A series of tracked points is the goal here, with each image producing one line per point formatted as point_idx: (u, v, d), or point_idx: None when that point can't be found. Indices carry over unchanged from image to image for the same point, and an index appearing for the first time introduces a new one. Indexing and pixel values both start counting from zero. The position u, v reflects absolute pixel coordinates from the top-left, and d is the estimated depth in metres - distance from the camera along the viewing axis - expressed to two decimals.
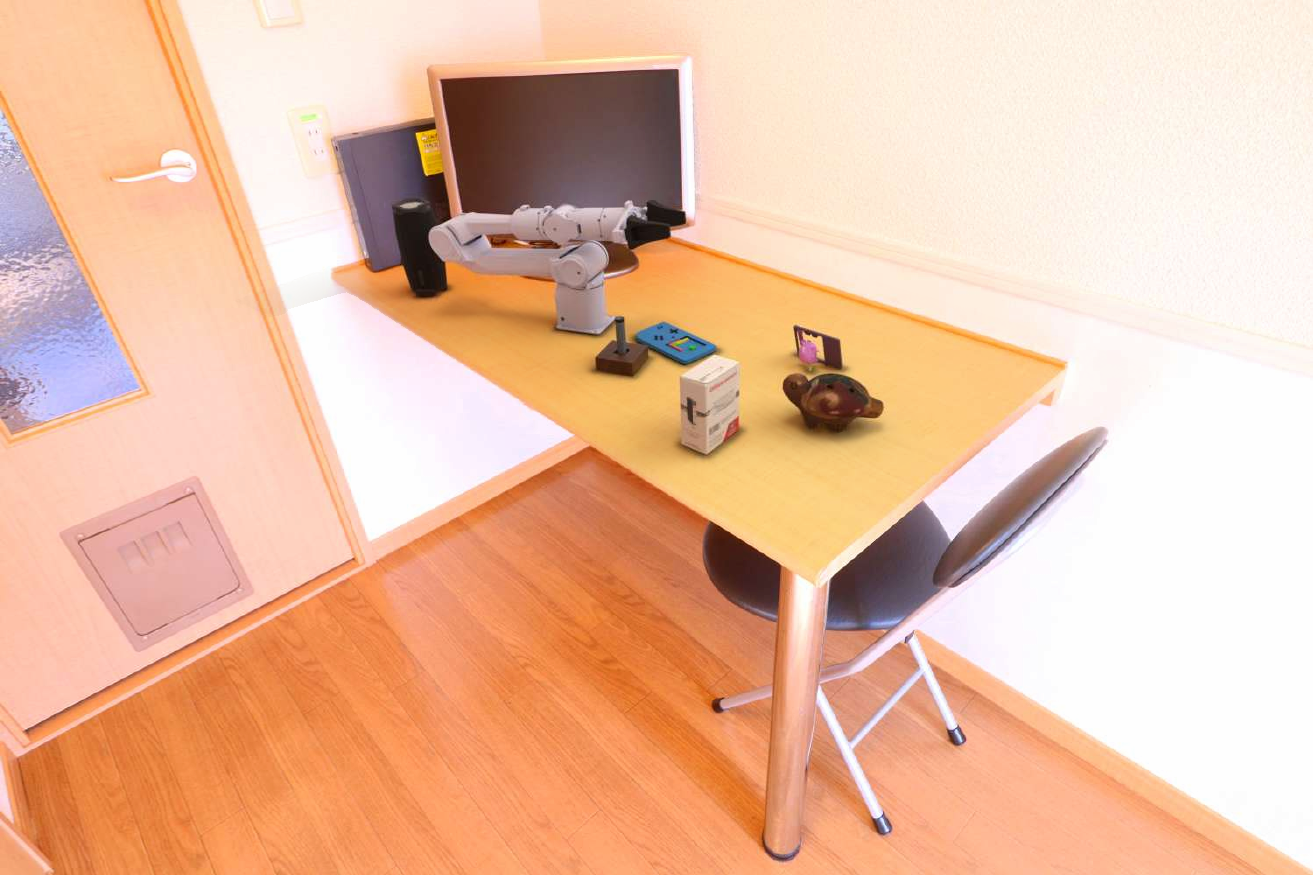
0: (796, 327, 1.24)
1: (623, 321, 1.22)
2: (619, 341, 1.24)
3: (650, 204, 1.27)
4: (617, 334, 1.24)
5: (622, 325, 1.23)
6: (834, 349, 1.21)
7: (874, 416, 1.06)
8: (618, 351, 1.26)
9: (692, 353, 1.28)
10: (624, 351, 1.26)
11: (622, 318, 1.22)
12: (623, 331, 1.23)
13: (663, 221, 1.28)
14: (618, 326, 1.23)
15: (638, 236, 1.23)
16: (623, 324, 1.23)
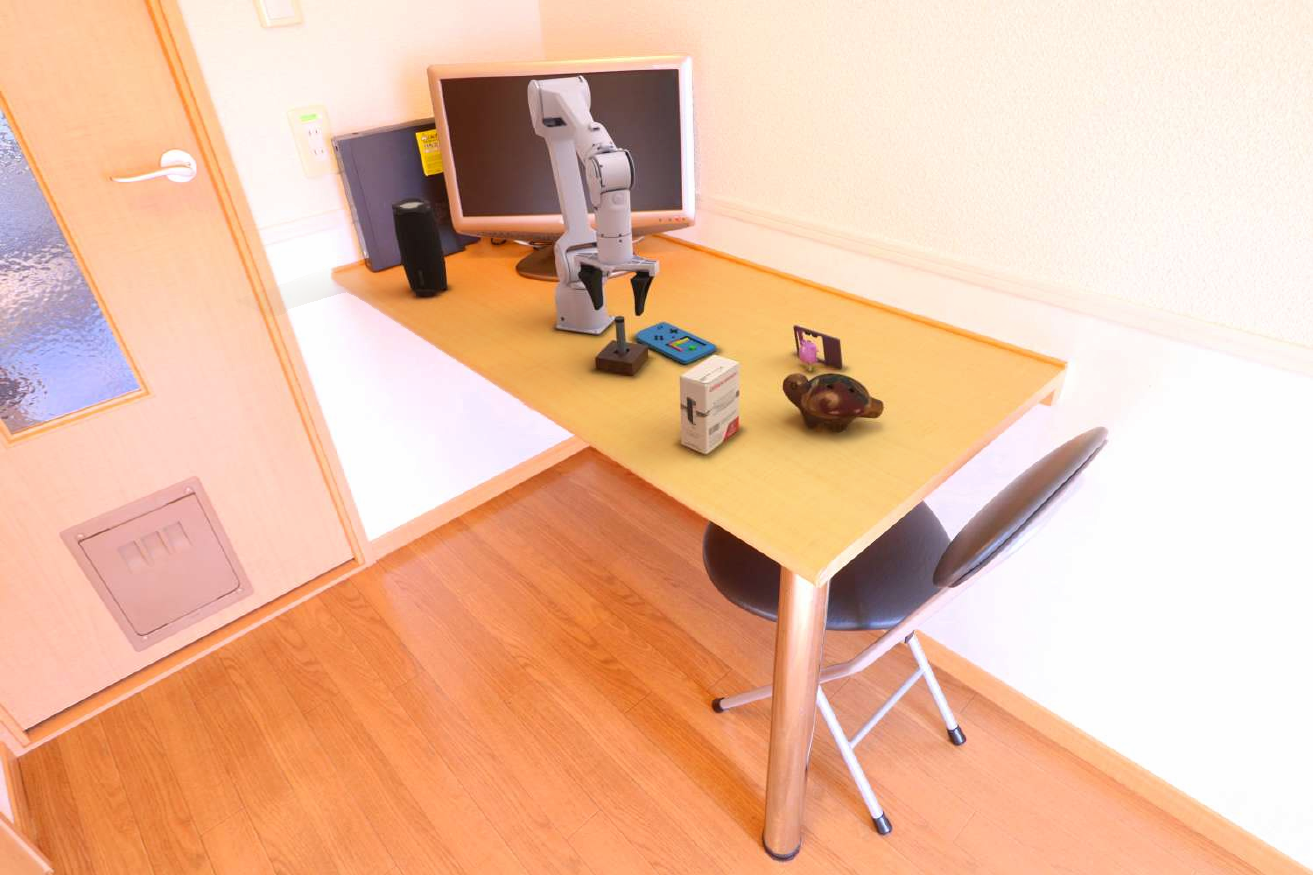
0: (796, 327, 1.24)
1: (623, 321, 1.22)
2: (619, 341, 1.24)
3: (631, 283, 1.15)
4: (617, 334, 1.24)
5: (622, 325, 1.23)
6: (834, 349, 1.21)
7: (874, 416, 1.06)
8: (618, 351, 1.26)
9: (692, 353, 1.28)
10: (624, 351, 1.26)
11: (622, 318, 1.22)
12: (623, 331, 1.23)
13: None
14: (618, 326, 1.23)
15: None
16: (623, 324, 1.23)
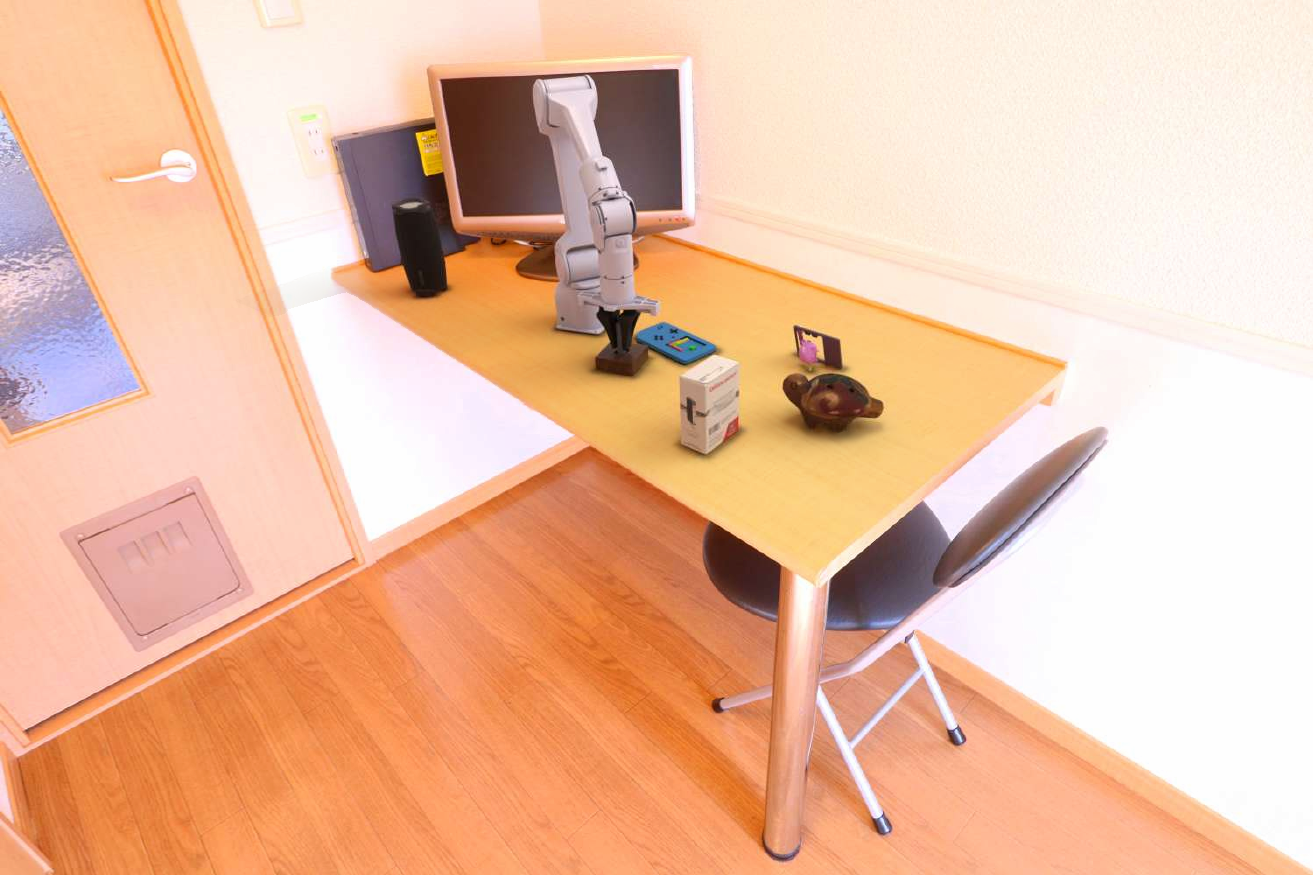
0: (796, 327, 1.24)
1: None
2: (619, 341, 1.24)
3: None
4: (617, 334, 1.24)
5: None
6: (834, 349, 1.21)
7: (874, 416, 1.06)
8: (618, 351, 1.26)
9: (692, 353, 1.28)
10: (624, 351, 1.26)
11: None
12: None
13: None
14: (618, 326, 1.23)
15: None
16: None
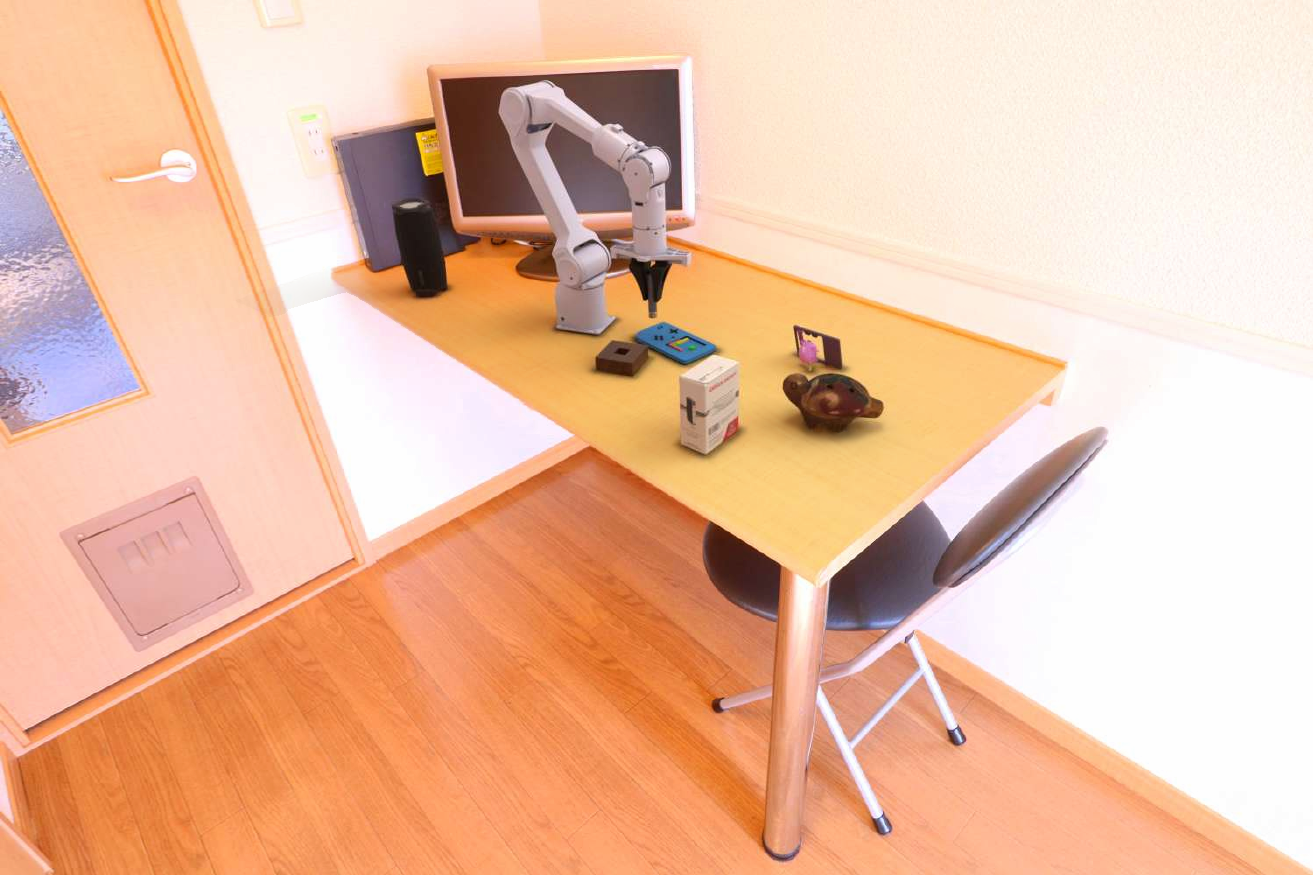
0: (796, 327, 1.24)
1: None
2: (650, 293, 1.28)
3: (650, 271, 1.24)
4: (648, 286, 1.28)
5: None
6: (834, 349, 1.21)
7: (874, 416, 1.06)
8: (649, 303, 1.30)
9: (692, 353, 1.28)
10: (655, 303, 1.30)
11: None
12: None
13: None
14: (650, 278, 1.27)
15: None
16: None
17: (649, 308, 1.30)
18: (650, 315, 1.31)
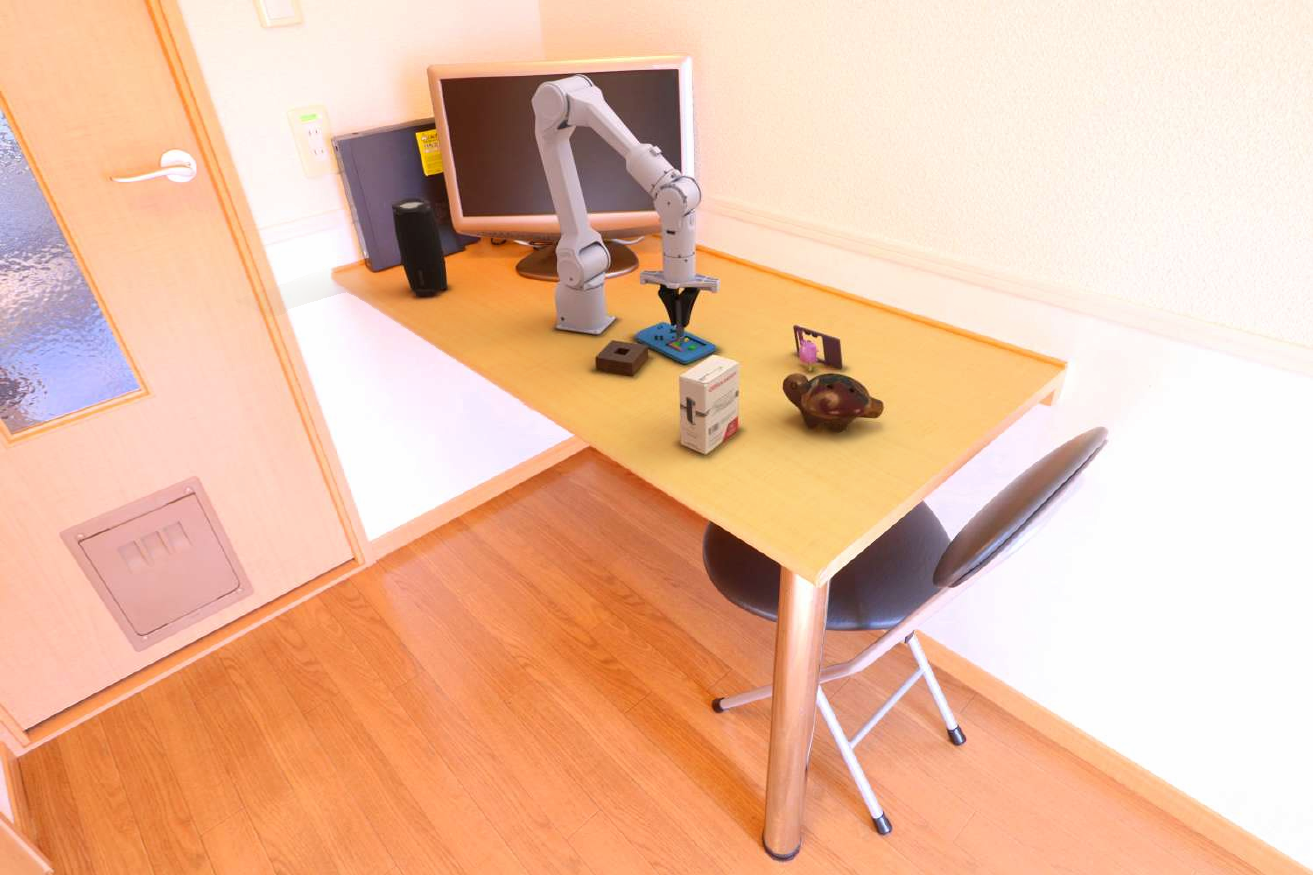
0: (796, 327, 1.24)
1: None
2: (678, 318, 1.29)
3: (680, 297, 1.25)
4: (677, 312, 1.28)
5: None
6: (834, 349, 1.21)
7: (874, 416, 1.06)
8: (677, 328, 1.30)
9: (692, 353, 1.28)
10: (683, 328, 1.30)
11: None
12: None
13: None
14: (678, 304, 1.27)
15: None
16: None
17: (677, 333, 1.31)
18: (678, 340, 1.31)
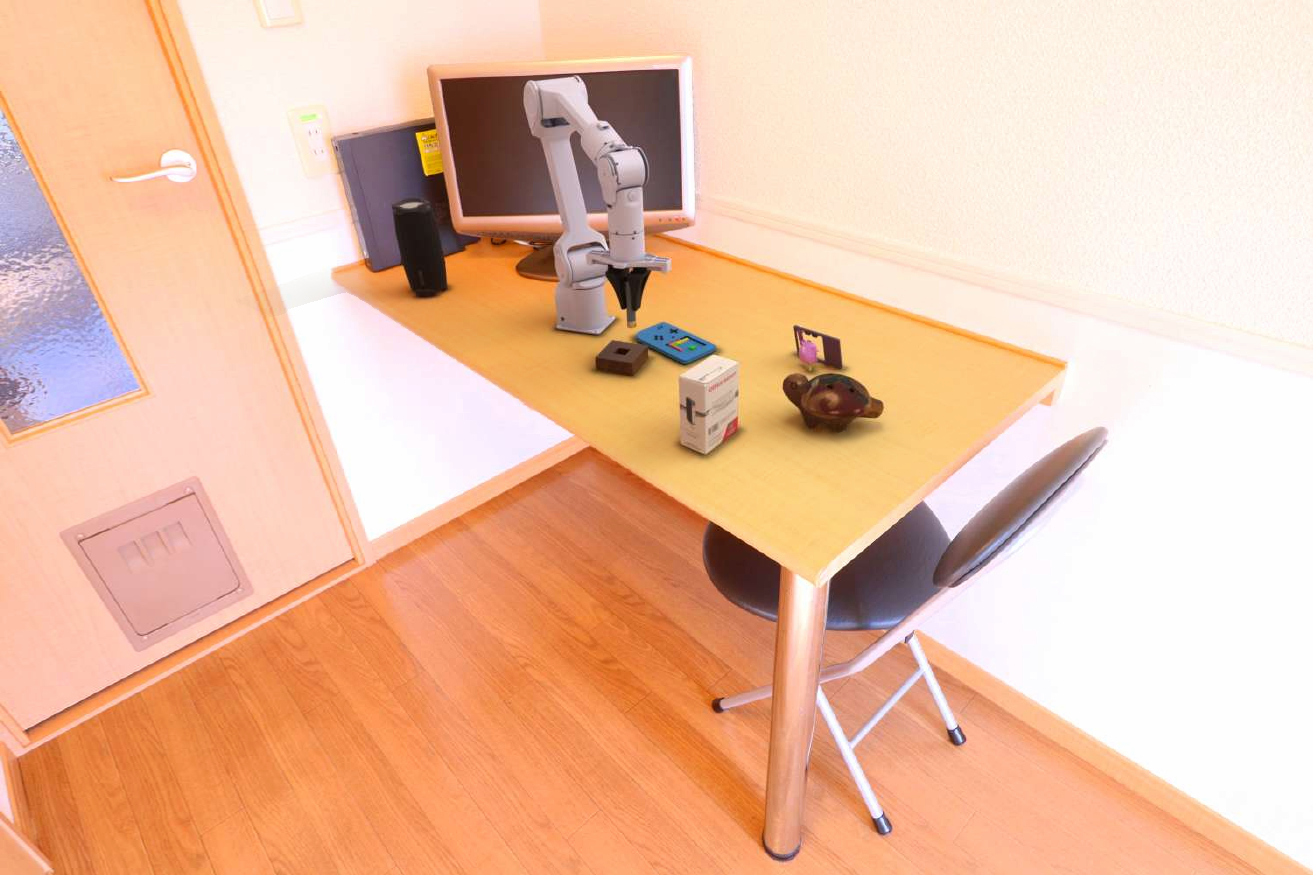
0: (796, 327, 1.24)
1: None
2: (628, 302, 1.21)
3: (628, 278, 1.17)
4: (626, 294, 1.20)
5: None
6: (834, 349, 1.21)
7: (874, 416, 1.06)
8: (627, 312, 1.22)
9: (692, 353, 1.28)
10: (633, 312, 1.22)
11: None
12: None
13: None
14: (627, 286, 1.20)
15: None
16: None
17: (627, 317, 1.23)
18: (629, 324, 1.23)
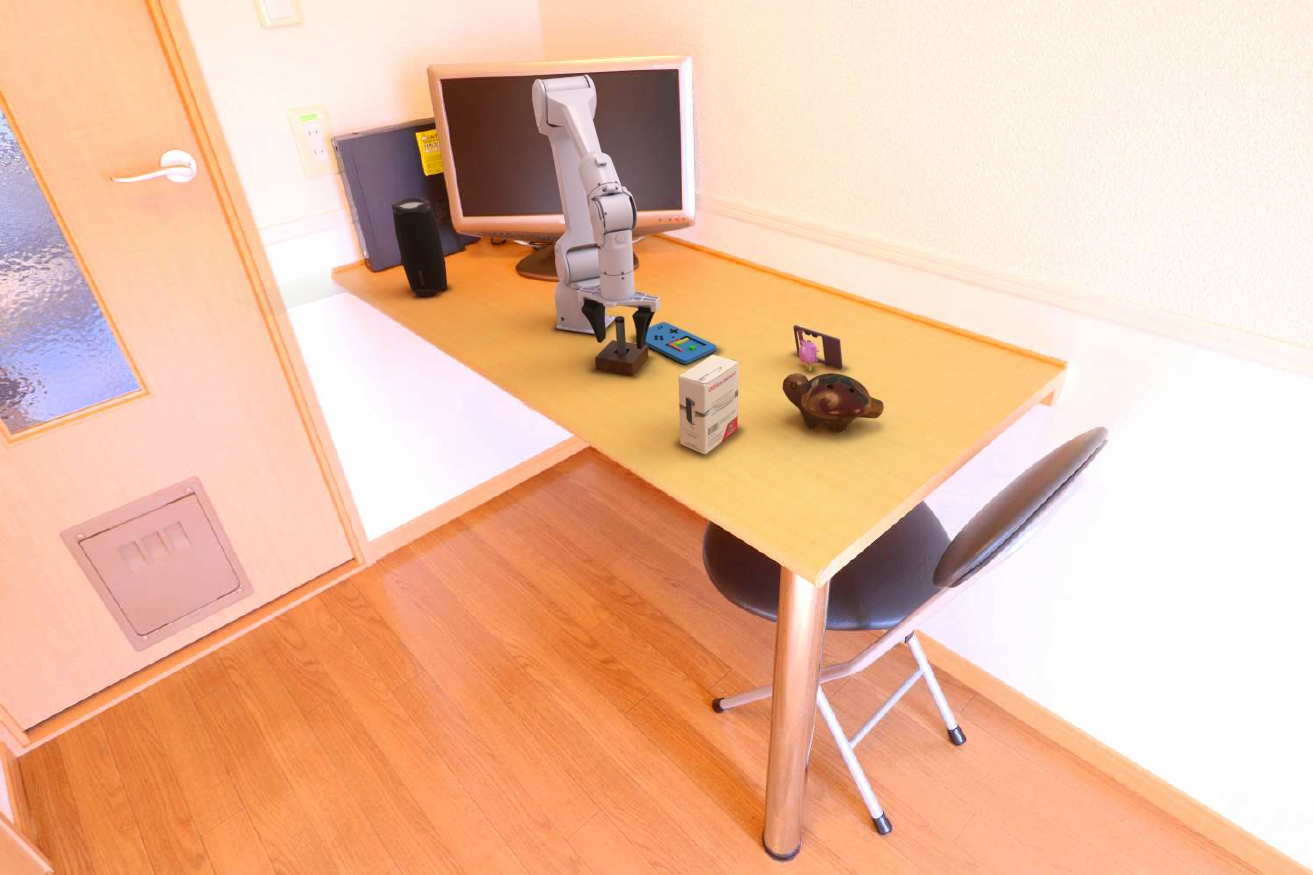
0: (796, 327, 1.24)
1: (623, 321, 1.22)
2: (619, 341, 1.24)
3: (633, 318, 1.19)
4: (617, 334, 1.24)
5: (622, 325, 1.23)
6: (834, 349, 1.21)
7: (874, 416, 1.06)
8: (618, 351, 1.26)
9: (692, 353, 1.28)
10: (624, 351, 1.25)
11: (622, 318, 1.22)
12: (623, 331, 1.23)
13: None
14: (618, 326, 1.23)
15: None
16: (623, 324, 1.23)
17: None
18: None
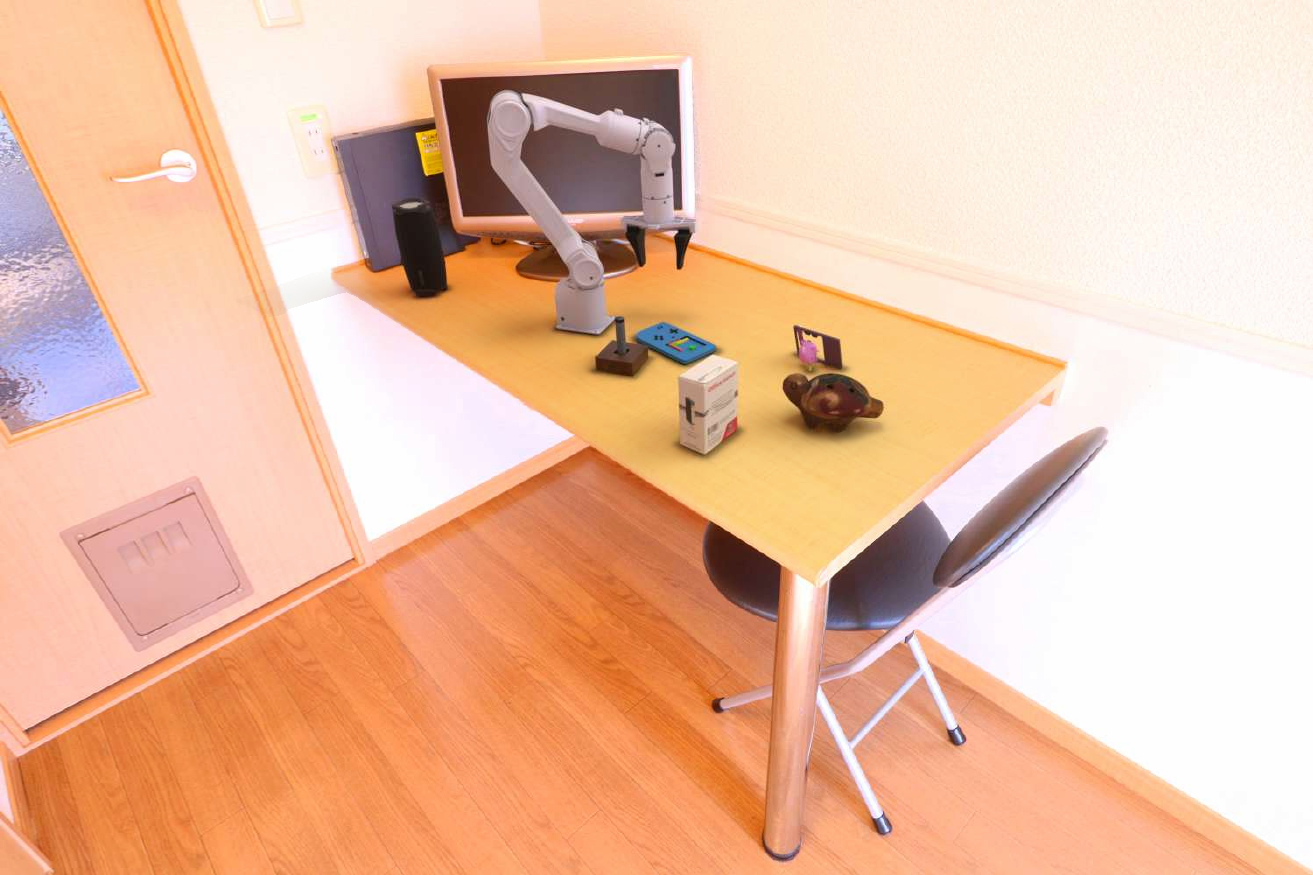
0: (796, 327, 1.24)
1: (623, 321, 1.22)
2: (619, 341, 1.24)
3: (674, 239, 1.32)
4: (617, 334, 1.24)
5: (622, 325, 1.23)
6: (834, 349, 1.21)
7: (874, 416, 1.06)
8: (618, 351, 1.26)
9: (692, 353, 1.28)
10: (624, 351, 1.25)
11: (622, 318, 1.22)
12: (623, 331, 1.23)
13: None
14: (618, 326, 1.23)
15: None
16: (623, 324, 1.23)
17: None
18: None
